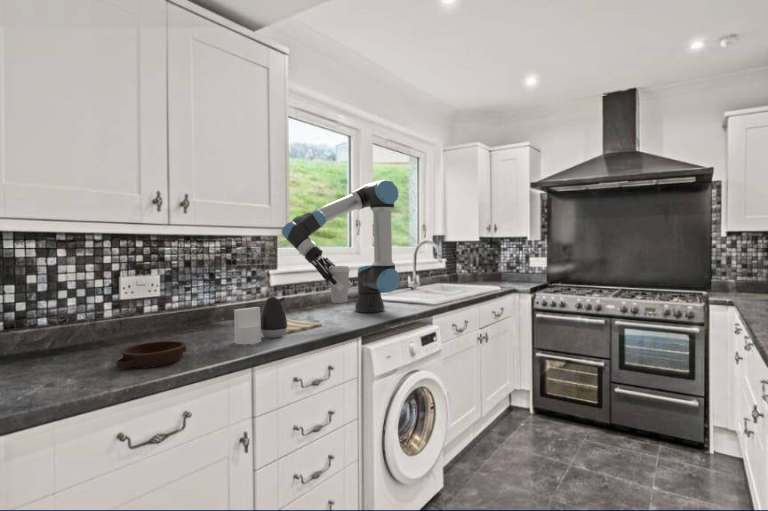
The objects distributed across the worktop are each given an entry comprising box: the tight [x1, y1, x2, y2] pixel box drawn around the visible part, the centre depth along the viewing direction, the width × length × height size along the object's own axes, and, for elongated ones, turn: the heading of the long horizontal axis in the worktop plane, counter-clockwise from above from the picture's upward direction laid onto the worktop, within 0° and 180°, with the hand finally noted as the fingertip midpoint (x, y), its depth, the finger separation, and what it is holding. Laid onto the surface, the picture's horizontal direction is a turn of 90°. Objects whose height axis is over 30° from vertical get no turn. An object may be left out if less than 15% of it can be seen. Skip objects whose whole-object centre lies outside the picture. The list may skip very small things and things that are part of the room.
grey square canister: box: [233, 306, 262, 345], centre depth 162 cm, size 9×9×12 cm
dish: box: [115, 340, 188, 369], centre depth 136 cm, size 18×22×5 cm
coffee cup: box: [328, 265, 351, 304], centre depth 193 cm, size 10×10×15 cm
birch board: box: [284, 319, 323, 335], centre depth 189 cm, size 20×20×1 cm
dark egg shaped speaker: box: [260, 296, 288, 339], centre depth 170 cm, size 10×10×15 cm
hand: (346, 287), depth 192 cm, fingers closed on coffee cup, 9 cm apart
